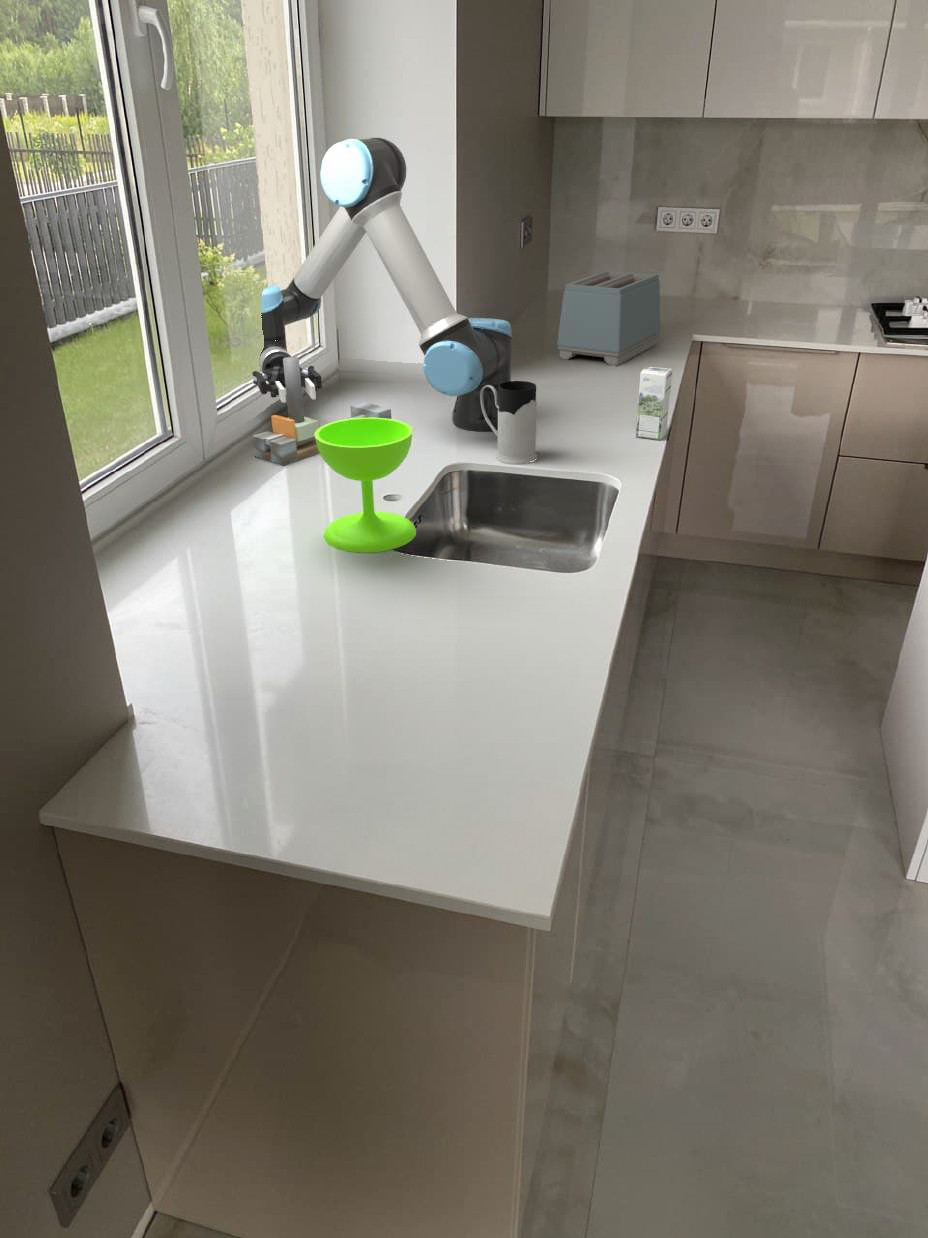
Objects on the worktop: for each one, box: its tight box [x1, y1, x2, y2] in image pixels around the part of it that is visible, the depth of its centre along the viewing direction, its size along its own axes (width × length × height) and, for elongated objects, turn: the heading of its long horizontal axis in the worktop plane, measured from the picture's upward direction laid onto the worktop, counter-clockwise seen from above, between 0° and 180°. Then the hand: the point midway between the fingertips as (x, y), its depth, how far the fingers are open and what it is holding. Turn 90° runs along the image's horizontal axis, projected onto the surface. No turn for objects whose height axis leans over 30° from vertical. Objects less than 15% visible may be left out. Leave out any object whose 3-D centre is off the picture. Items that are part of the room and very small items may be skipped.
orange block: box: [265, 414, 297, 445], centre depth 196 cm, size 6×5×4 cm
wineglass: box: [314, 418, 417, 554], centre depth 159 cm, size 16×16×18 cm
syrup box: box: [635, 366, 673, 441], centre depth 205 cm, size 6×6×14 cm
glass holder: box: [480, 380, 538, 465], centre depth 195 cm, size 9×14×15 cm, turn 48°
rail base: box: [252, 401, 392, 467], centre depth 206 cm, size 9×32×4 cm, turn 140°
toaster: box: [556, 269, 661, 367], centre depth 274 cm, size 19×35×20 cm, turn 148°
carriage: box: [283, 356, 320, 442], centre depth 197 cm, size 7×6×16 cm
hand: (298, 394), depth 192 cm, fingers open, 5 cm apart
